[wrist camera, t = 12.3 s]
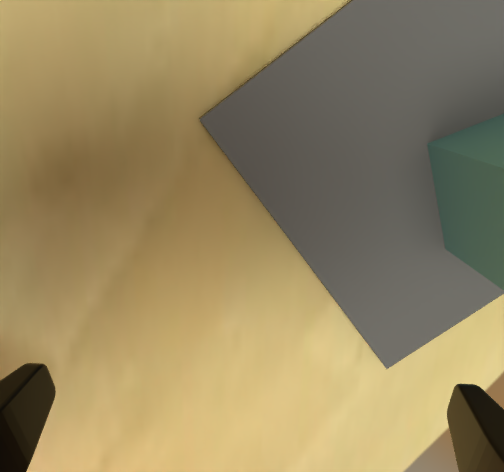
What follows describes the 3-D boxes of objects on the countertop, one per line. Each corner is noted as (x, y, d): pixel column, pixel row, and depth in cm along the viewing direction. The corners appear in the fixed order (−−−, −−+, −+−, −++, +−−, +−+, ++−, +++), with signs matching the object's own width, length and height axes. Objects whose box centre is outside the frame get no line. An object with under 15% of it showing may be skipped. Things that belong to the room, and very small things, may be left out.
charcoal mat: (383, 363, 25) (386, 368, 25) (199, 118, 18) (199, 120, 18) (653, 188, 23) (663, 191, 23) (562, -164, 16) (573, -171, 16)
